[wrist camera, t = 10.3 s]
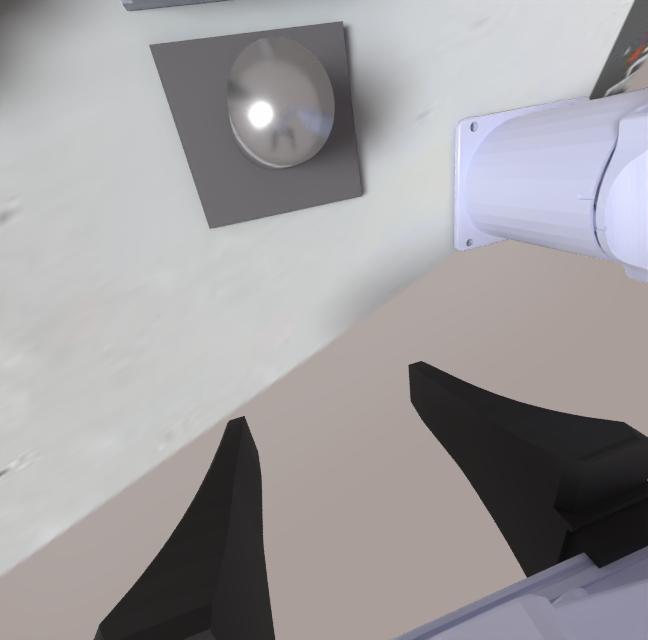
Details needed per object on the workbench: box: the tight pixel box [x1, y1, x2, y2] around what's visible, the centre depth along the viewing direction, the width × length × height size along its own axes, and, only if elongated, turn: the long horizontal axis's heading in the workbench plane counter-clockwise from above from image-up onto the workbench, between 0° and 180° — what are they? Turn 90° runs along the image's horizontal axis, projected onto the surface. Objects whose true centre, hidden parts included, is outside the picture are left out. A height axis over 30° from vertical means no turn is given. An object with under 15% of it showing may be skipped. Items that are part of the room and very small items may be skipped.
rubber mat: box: [149, 21, 362, 229], centre depth 16 cm, size 9×8×1 cm
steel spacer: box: [227, 37, 335, 170], centre depth 14 cm, size 4×4×5 cm
